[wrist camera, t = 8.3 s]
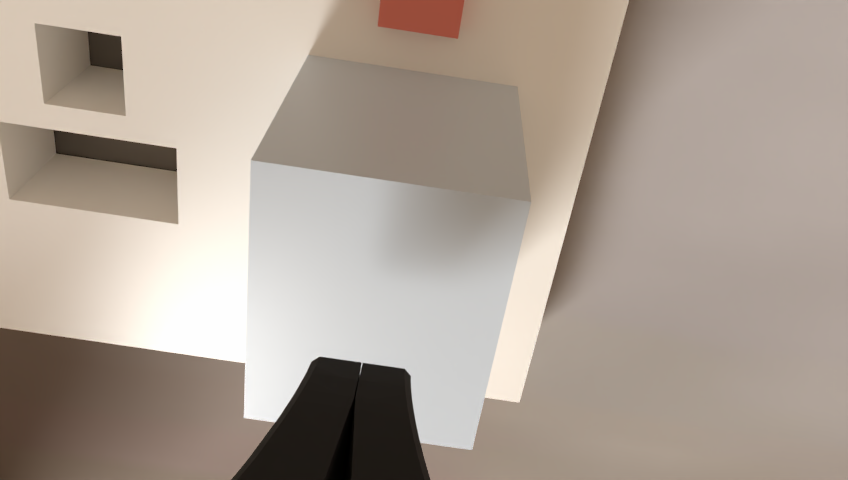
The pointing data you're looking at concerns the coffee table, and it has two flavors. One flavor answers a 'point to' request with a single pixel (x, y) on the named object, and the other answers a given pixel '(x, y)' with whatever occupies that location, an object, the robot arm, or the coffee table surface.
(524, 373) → the socket board
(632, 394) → the coffee table surface
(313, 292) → the plug
